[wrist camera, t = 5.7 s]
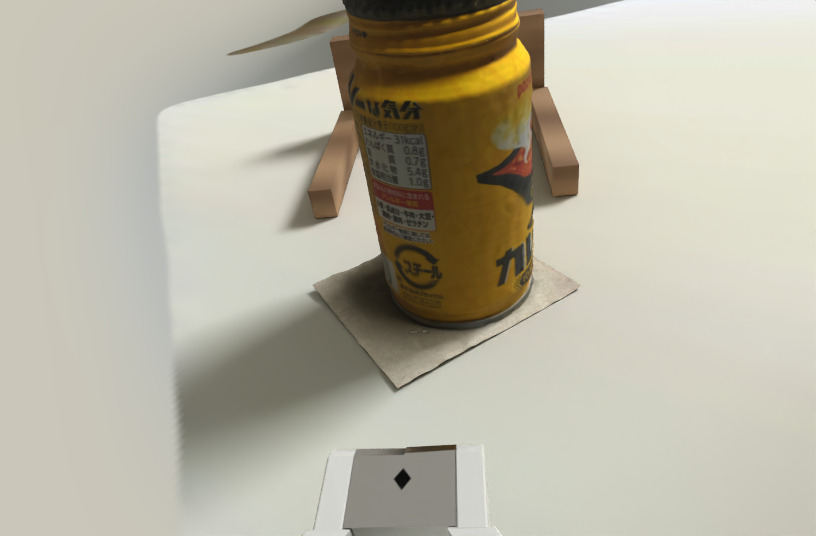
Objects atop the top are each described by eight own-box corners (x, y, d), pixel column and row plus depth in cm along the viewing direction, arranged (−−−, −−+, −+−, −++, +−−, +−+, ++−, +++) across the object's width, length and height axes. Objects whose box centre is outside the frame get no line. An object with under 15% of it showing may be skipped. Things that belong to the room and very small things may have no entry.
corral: (577, 194, 28) (582, 72, 25) (315, 218, 30) (284, 108, 26) (544, 104, 38) (544, 8, 34) (348, 126, 40) (329, 37, 36)
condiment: (581, 289, 22) (598, -55, 15) (398, 392, 20) (316, 23, 13) (471, 218, 28) (446, -60, 21) (314, 290, 25) (224, -7, 18)
